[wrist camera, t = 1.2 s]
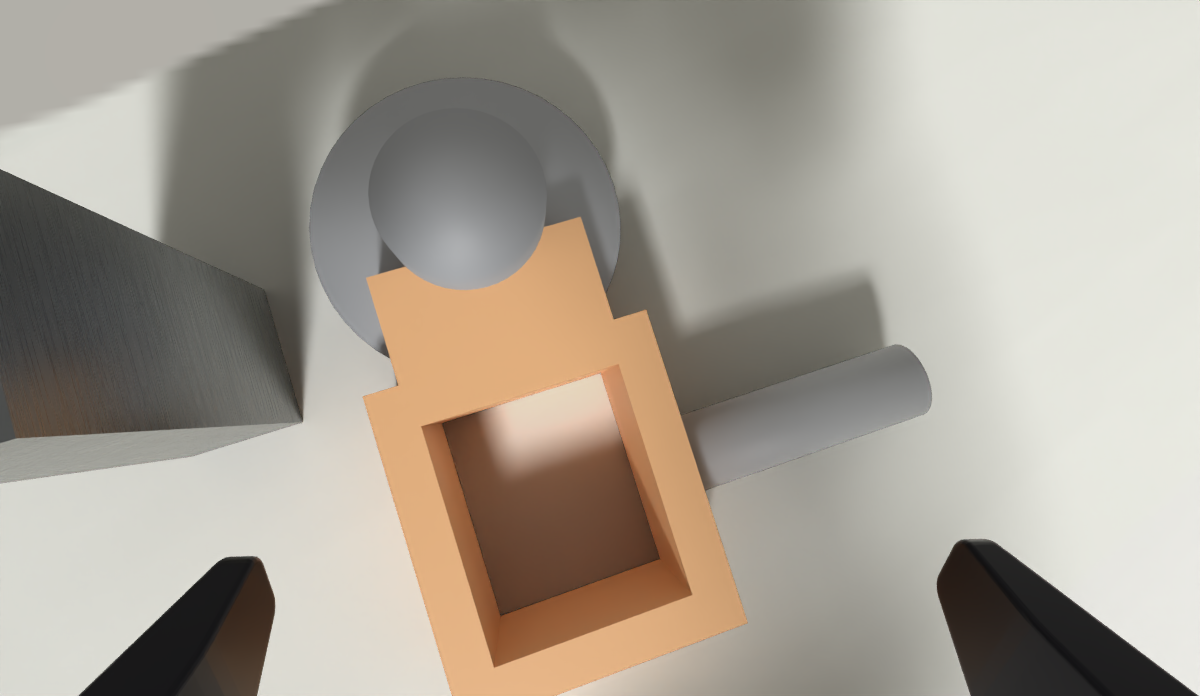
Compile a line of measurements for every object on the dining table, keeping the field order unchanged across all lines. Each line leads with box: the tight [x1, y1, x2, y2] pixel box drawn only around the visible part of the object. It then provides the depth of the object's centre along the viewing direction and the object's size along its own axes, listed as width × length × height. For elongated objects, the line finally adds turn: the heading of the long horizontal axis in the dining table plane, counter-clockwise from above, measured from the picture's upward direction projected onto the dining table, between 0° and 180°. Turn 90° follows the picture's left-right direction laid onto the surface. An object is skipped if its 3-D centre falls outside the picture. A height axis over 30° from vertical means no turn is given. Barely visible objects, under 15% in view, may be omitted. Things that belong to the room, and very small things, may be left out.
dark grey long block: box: [0, 169, 303, 483], centre depth 16 cm, size 4×4×12 cm
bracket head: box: [309, 78, 932, 696], centre depth 20 cm, size 18×16×6 cm
